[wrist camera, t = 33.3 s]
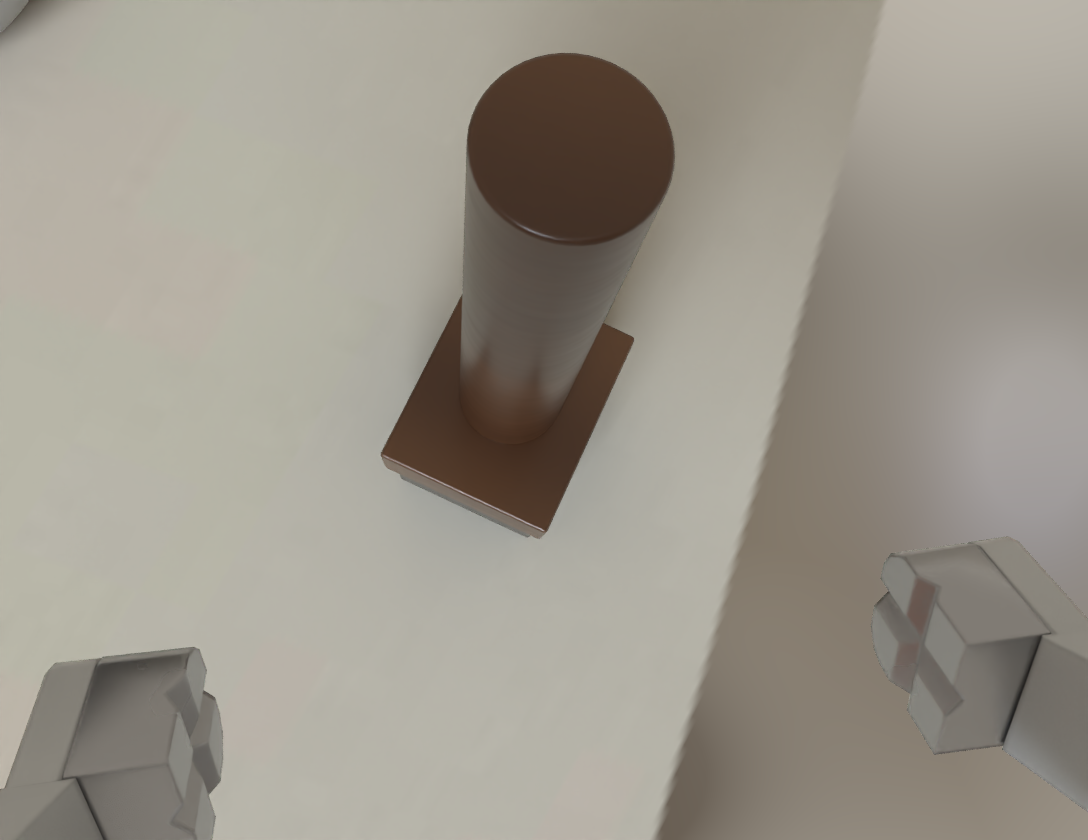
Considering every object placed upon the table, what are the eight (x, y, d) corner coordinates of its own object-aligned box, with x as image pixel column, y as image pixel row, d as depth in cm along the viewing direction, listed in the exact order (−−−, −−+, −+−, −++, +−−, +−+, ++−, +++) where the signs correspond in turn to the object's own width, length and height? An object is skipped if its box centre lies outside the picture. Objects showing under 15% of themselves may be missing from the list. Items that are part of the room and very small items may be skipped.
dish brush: (474, 315, 27) (502, -106, 12) (609, 379, 27) (820, 41, 12) (390, 481, 26) (297, 259, 10) (532, 548, 26) (651, 424, 10)
